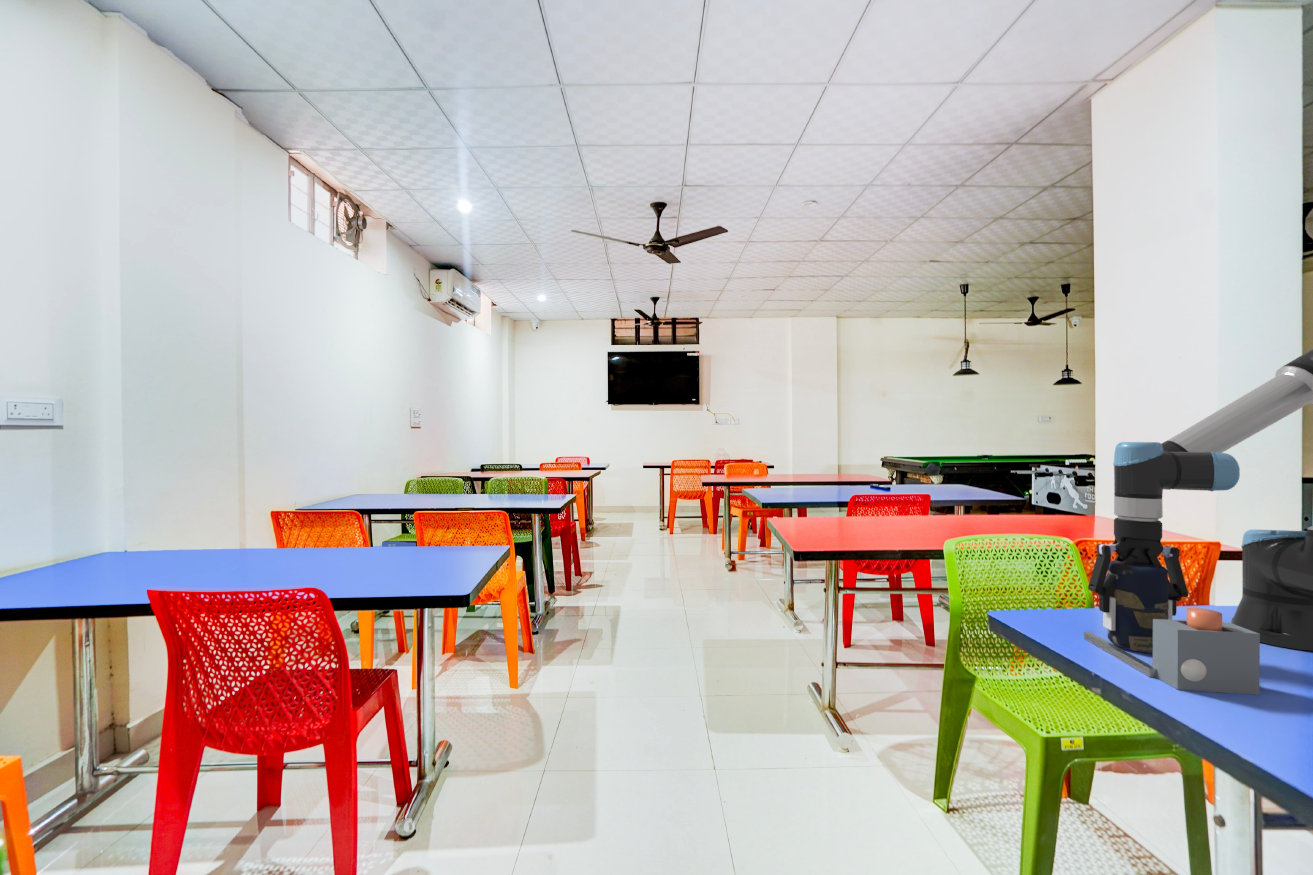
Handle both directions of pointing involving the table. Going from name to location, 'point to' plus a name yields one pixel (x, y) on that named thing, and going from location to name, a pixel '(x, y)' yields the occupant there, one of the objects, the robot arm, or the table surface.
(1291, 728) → the table surface
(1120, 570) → the canister
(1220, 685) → the end cabinet
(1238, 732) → the table surface
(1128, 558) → the robot arm
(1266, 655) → the table surface
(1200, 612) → the button
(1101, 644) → the rail track
